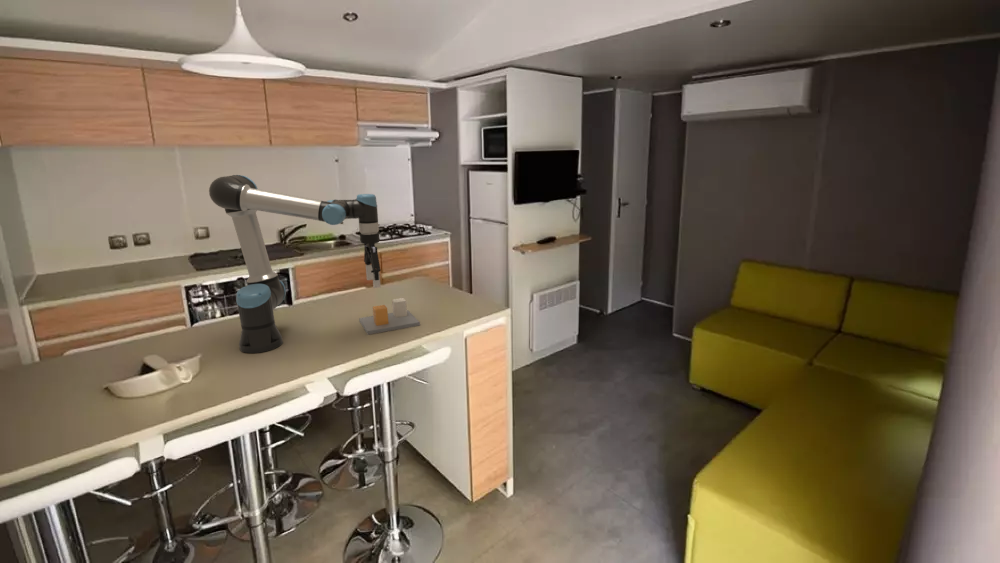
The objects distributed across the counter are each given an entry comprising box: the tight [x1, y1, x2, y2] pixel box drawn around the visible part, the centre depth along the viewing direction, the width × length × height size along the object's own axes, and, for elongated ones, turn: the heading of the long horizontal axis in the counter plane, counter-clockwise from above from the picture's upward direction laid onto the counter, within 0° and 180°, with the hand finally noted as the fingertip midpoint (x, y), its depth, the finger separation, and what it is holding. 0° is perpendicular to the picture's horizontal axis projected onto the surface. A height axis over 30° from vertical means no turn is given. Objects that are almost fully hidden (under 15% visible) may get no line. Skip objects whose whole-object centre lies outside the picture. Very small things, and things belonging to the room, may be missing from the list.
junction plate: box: [358, 297, 421, 335], centre depth 208 cm, size 22×18×8 cm
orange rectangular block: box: [372, 304, 389, 326], centre depth 205 cm, size 5×5×7 cm
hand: (373, 283), depth 201 cm, fingers open, 13 cm apart
